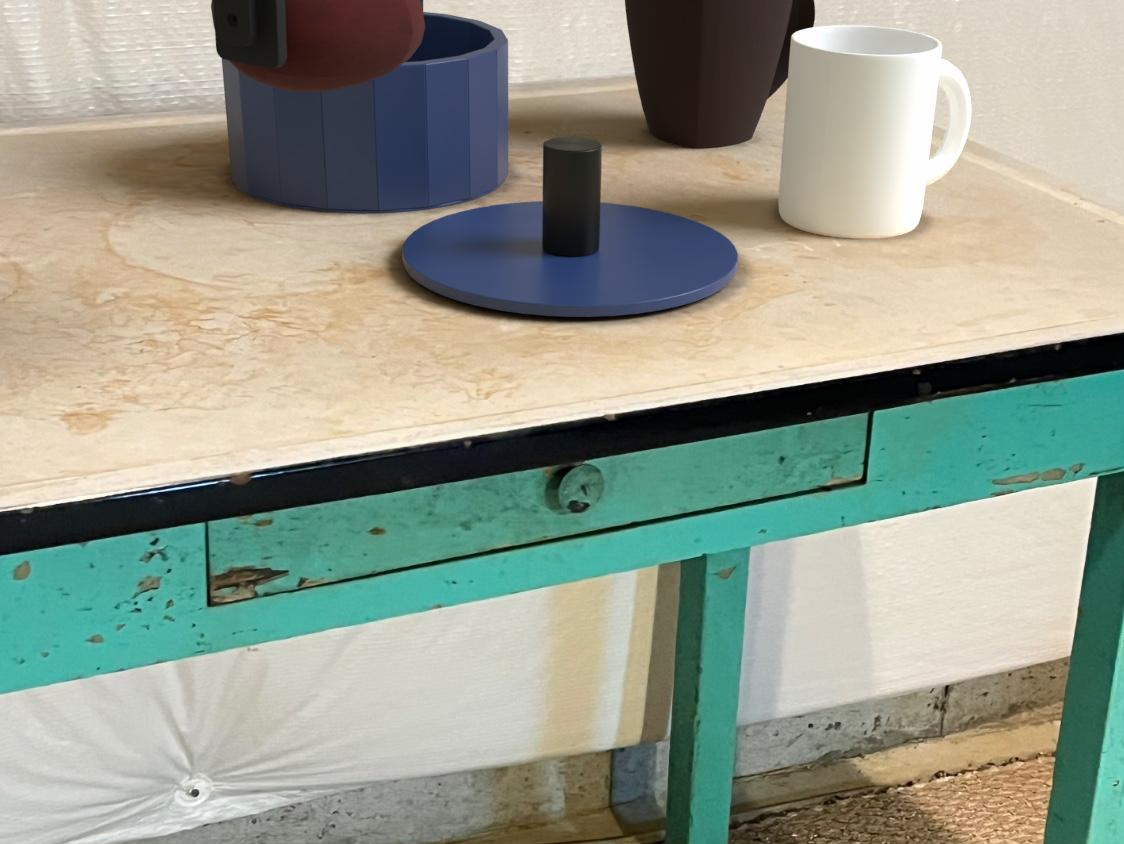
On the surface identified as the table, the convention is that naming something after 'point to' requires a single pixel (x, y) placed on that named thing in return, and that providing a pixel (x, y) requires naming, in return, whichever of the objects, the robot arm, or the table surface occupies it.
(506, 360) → the table surface
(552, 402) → the table surface
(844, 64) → the mug
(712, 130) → the mug
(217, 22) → the robot arm
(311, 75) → the potato
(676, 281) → the lid
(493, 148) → the pot
